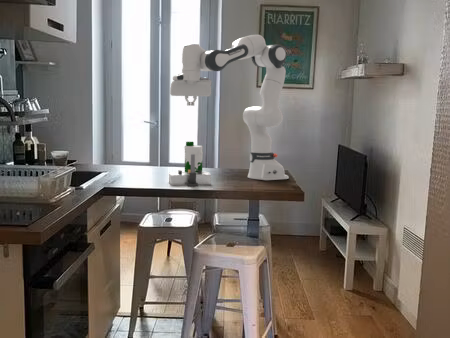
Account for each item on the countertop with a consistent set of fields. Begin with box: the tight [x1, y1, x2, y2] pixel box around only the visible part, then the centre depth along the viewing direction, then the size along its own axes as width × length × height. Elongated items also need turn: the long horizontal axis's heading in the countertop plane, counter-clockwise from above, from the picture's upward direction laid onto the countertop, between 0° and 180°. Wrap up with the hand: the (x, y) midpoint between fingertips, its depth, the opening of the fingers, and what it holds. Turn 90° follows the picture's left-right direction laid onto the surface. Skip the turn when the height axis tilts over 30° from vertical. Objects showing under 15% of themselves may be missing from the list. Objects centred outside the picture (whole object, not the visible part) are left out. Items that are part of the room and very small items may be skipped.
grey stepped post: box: [186, 154, 199, 188], centre depth 244 cm, size 5×5×16 cm
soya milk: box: [184, 141, 204, 172], centre depth 262 cm, size 9×9×20 cm
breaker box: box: [168, 169, 212, 186], centre depth 252 cm, size 20×8×7 cm, turn 105°
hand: (190, 105), depth 247 cm, fingers closed
